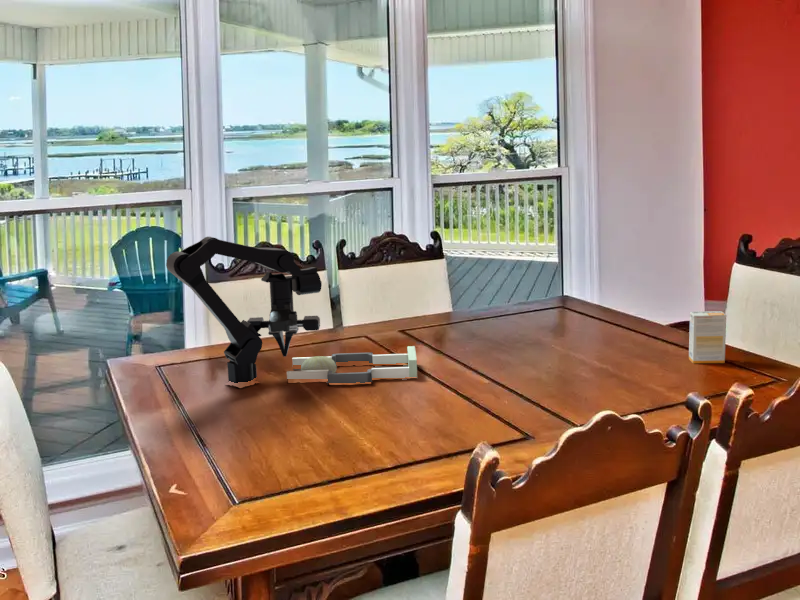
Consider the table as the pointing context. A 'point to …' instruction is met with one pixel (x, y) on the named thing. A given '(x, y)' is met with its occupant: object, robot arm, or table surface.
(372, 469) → the table surface
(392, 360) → the trap lane
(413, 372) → the end block
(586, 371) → the table surface
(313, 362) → the sea urchin shell
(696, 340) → the supplement box
